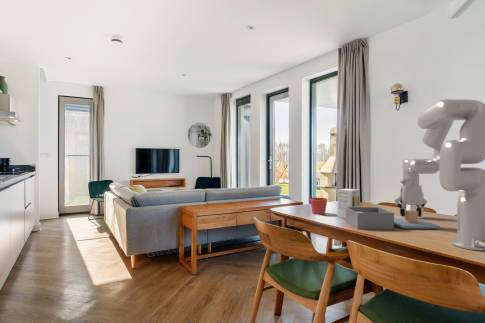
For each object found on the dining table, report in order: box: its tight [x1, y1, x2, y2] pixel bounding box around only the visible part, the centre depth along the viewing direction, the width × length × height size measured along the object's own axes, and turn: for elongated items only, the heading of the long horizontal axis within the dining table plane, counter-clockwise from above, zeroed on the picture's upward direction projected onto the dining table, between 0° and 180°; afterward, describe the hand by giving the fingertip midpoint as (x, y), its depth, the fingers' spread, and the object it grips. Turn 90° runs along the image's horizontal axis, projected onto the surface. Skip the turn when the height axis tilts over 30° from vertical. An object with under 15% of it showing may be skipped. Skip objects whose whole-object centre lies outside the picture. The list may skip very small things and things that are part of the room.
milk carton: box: [405, 189, 424, 219], centre depth 180 cm, size 7×7×19 cm
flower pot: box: [309, 197, 328, 216], centre depth 192 cm, size 11×11×10 cm
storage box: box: [345, 206, 395, 230], centre depth 159 cm, size 18×18×8 cm
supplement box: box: [337, 188, 360, 220], centre depth 179 cm, size 10×9×17 cm
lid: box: [394, 209, 441, 230], centre depth 159 cm, size 19×19×8 cm
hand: (410, 216), depth 159 cm, fingers open, 7 cm apart
